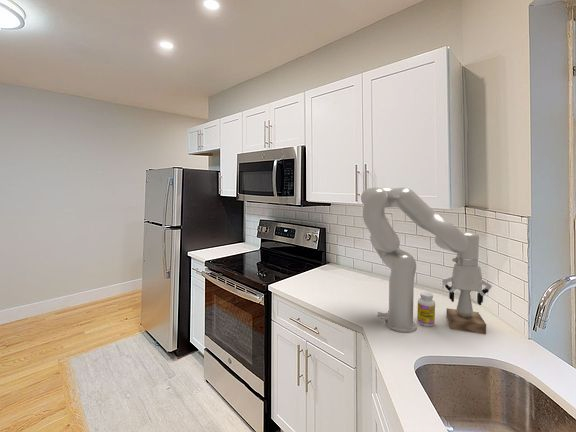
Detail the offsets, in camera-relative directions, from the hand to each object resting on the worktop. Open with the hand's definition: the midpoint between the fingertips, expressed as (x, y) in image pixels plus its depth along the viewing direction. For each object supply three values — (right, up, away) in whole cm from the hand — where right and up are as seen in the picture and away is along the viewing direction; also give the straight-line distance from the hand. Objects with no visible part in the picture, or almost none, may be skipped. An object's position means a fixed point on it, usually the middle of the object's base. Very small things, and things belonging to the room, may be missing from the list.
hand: (465, 302), depth 115 cm
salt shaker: (0, -6, 0) cm, 6 cm away
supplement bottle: (-15, -10, +3) cm, 18 cm away
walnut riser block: (0, -10, +1) cm, 10 cm away
